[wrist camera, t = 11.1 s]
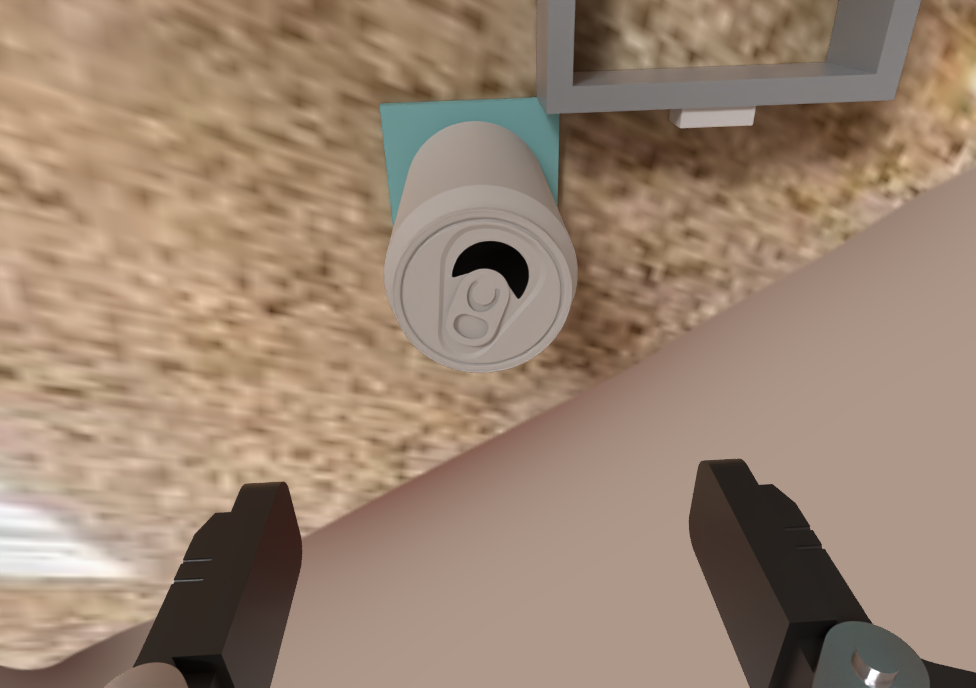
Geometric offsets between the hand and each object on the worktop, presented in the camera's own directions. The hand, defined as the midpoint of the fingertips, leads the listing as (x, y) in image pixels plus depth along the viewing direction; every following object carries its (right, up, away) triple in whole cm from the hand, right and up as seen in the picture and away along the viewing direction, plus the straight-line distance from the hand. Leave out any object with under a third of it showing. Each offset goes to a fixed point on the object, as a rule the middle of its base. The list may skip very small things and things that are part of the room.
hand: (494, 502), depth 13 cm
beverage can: (-1, +11, +18) cm, 21 cm away
